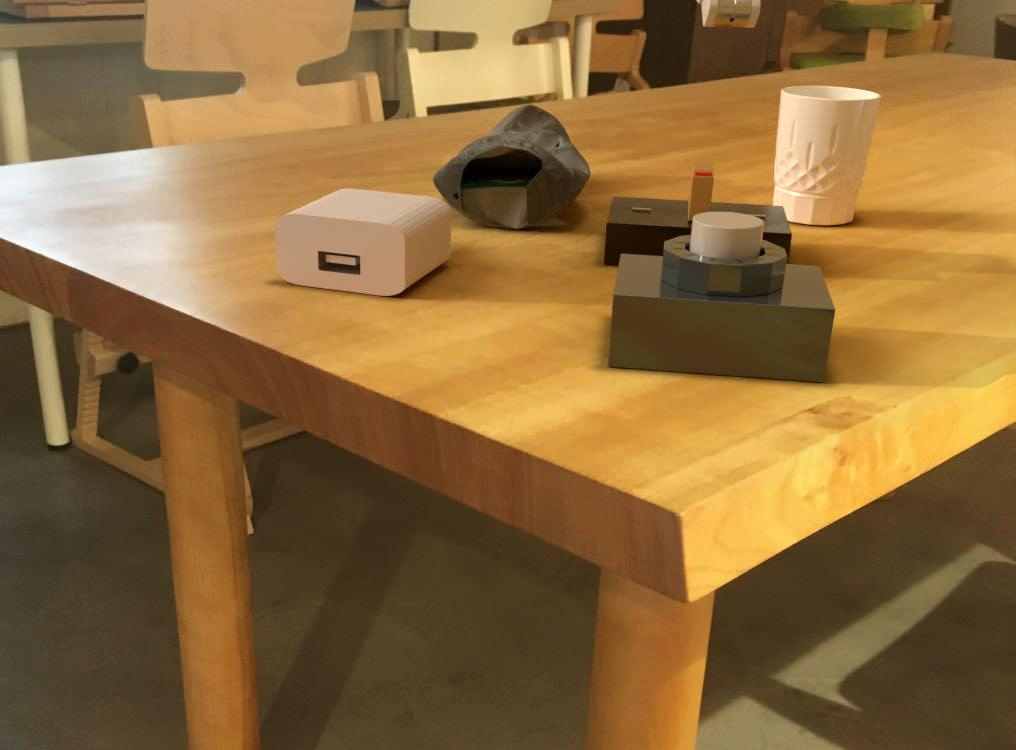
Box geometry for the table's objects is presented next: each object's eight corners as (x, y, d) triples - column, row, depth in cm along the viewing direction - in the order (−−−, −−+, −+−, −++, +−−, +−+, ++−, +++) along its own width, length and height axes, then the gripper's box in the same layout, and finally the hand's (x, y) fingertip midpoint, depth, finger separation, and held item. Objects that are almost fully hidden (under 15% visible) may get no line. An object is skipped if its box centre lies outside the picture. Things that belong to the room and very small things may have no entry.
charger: (478, 246, 94) (404, 298, 81) (366, 233, 96) (277, 282, 84) (480, 182, 92) (404, 226, 79) (365, 170, 94) (273, 211, 82)
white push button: (757, 248, 73) (762, 213, 72) (761, 266, 69) (766, 229, 68) (688, 244, 73) (692, 209, 72) (688, 262, 70) (692, 225, 69)
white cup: (822, 203, 110) (840, 84, 105) (879, 224, 103) (902, 98, 99) (746, 209, 107) (761, 87, 102) (801, 230, 101) (820, 101, 96)
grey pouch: (579, 237, 96) (611, 169, 118) (577, 141, 93) (610, 89, 114) (415, 239, 99) (475, 172, 120) (407, 146, 96) (470, 94, 117)
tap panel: (777, 243, 97) (783, 202, 95) (786, 277, 88) (793, 232, 87) (610, 233, 98) (613, 193, 97) (603, 265, 90) (606, 221, 88)
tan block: (688, 204, 94) (692, 158, 93) (707, 205, 94) (713, 159, 93) (687, 221, 90) (692, 172, 88) (708, 222, 89) (714, 173, 88)
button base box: (809, 332, 77) (824, 236, 74) (823, 382, 69) (841, 276, 66) (615, 319, 79) (623, 224, 76) (607, 366, 71) (615, 262, 68)
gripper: (871, -125, 78) (894, 61, 73) (543, -134, 77) (548, 53, 73) (908, -214, 72) (936, -17, 67) (553, -225, 71) (559, -26, 67)
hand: (731, 20), depth 70 cm, fingers closed
